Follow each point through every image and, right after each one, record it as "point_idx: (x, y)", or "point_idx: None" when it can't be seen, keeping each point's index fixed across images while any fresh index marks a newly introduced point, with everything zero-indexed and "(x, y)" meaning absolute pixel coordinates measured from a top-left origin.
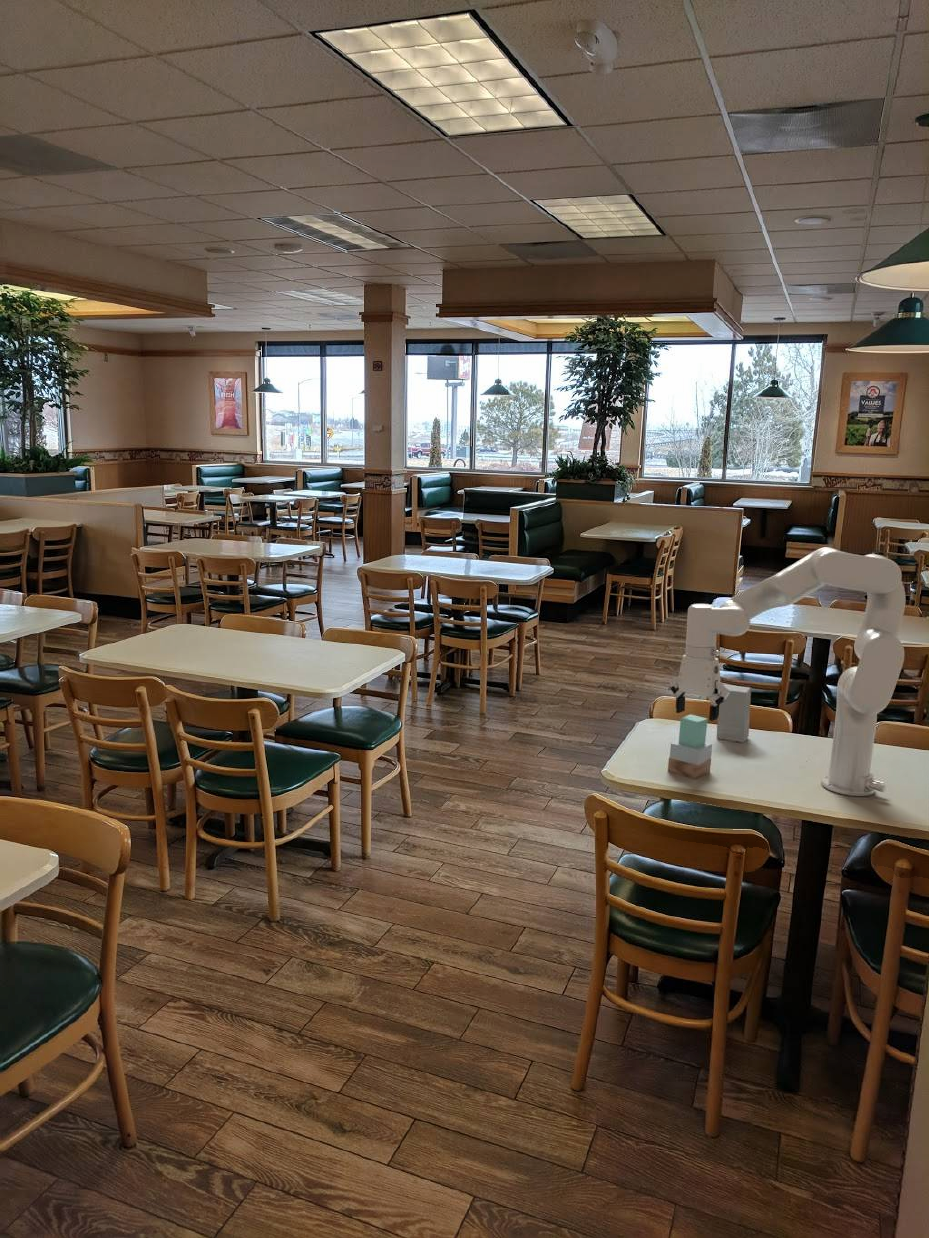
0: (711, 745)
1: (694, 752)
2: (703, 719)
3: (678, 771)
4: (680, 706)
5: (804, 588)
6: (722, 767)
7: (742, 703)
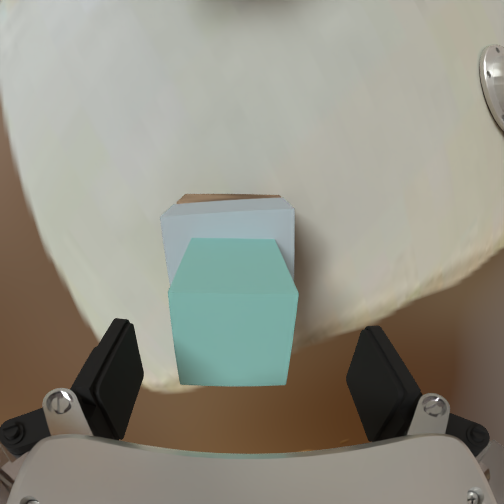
0: (293, 214)
1: None
2: (287, 328)
3: None
4: (131, 390)
5: None
6: (288, 125)
7: None
